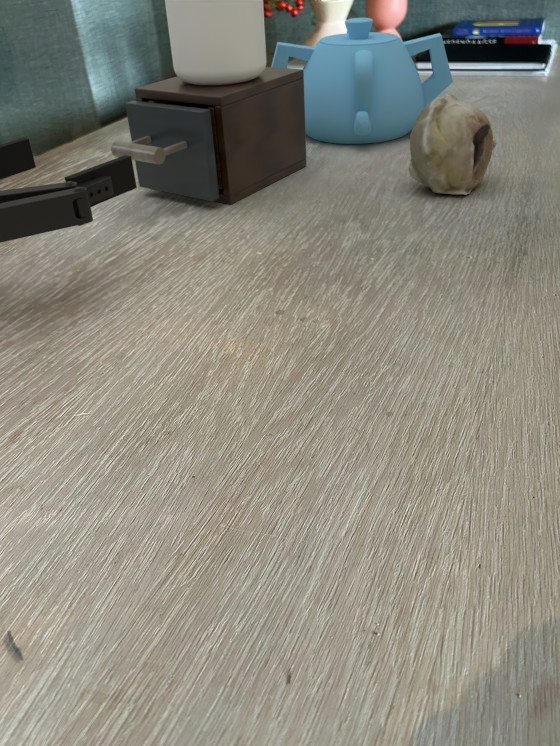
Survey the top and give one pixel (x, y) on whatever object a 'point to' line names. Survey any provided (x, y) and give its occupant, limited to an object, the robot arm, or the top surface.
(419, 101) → the teapot
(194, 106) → the drawer
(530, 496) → the top surface
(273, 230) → the top surface
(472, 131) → the garlic bulb
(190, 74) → the cup
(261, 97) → the cabinet
